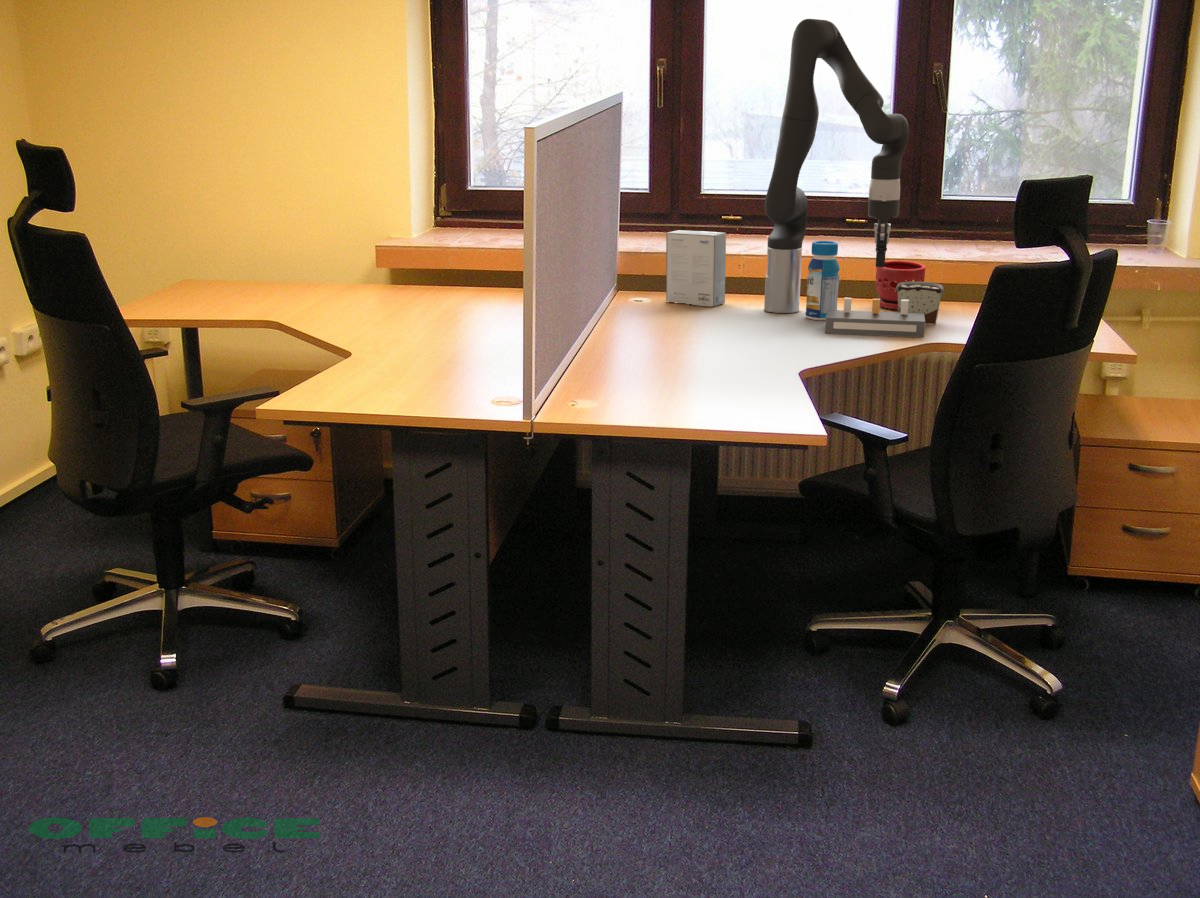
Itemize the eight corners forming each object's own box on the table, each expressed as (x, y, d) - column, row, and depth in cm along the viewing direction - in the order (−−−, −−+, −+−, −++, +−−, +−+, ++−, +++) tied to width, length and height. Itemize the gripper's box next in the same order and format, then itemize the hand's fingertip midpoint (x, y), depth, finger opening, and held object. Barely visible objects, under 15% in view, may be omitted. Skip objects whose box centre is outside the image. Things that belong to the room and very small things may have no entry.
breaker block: (824, 333, 292) (825, 317, 291) (826, 325, 302) (827, 309, 301) (923, 337, 287) (925, 321, 286) (922, 329, 296) (924, 313, 295)
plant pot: (864, 307, 324) (867, 264, 321) (892, 301, 332) (895, 258, 329) (904, 314, 315) (907, 269, 311) (931, 307, 323) (935, 264, 319)
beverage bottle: (835, 321, 306) (839, 245, 299) (802, 320, 308) (806, 244, 302) (838, 315, 313) (843, 240, 307) (807, 314, 316) (810, 239, 309)
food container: (943, 320, 307) (946, 282, 304) (941, 325, 301) (944, 286, 298) (895, 317, 311) (897, 280, 308) (892, 322, 305) (895, 284, 302)
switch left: (843, 312, 296) (844, 298, 295) (843, 311, 297) (844, 297, 296) (850, 312, 296) (851, 298, 295) (850, 311, 297) (851, 297, 296)
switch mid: (871, 313, 295) (872, 299, 293) (871, 312, 296) (872, 298, 295) (879, 313, 294) (880, 299, 293) (879, 312, 295) (880, 298, 294)
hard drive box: (725, 303, 331) (727, 232, 324) (713, 308, 324) (715, 235, 318) (677, 298, 339) (678, 228, 332) (664, 302, 332) (665, 232, 326)
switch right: (900, 314, 293) (901, 300, 292) (900, 313, 294) (901, 299, 293) (907, 314, 293) (908, 300, 292) (907, 313, 294) (908, 299, 293)
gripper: (868, 194, 297) (865, 262, 302) (868, 200, 285) (864, 270, 290) (899, 194, 296) (894, 263, 301) (900, 200, 283) (895, 271, 289)
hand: (880, 266), depth 296 cm, fingers closed
